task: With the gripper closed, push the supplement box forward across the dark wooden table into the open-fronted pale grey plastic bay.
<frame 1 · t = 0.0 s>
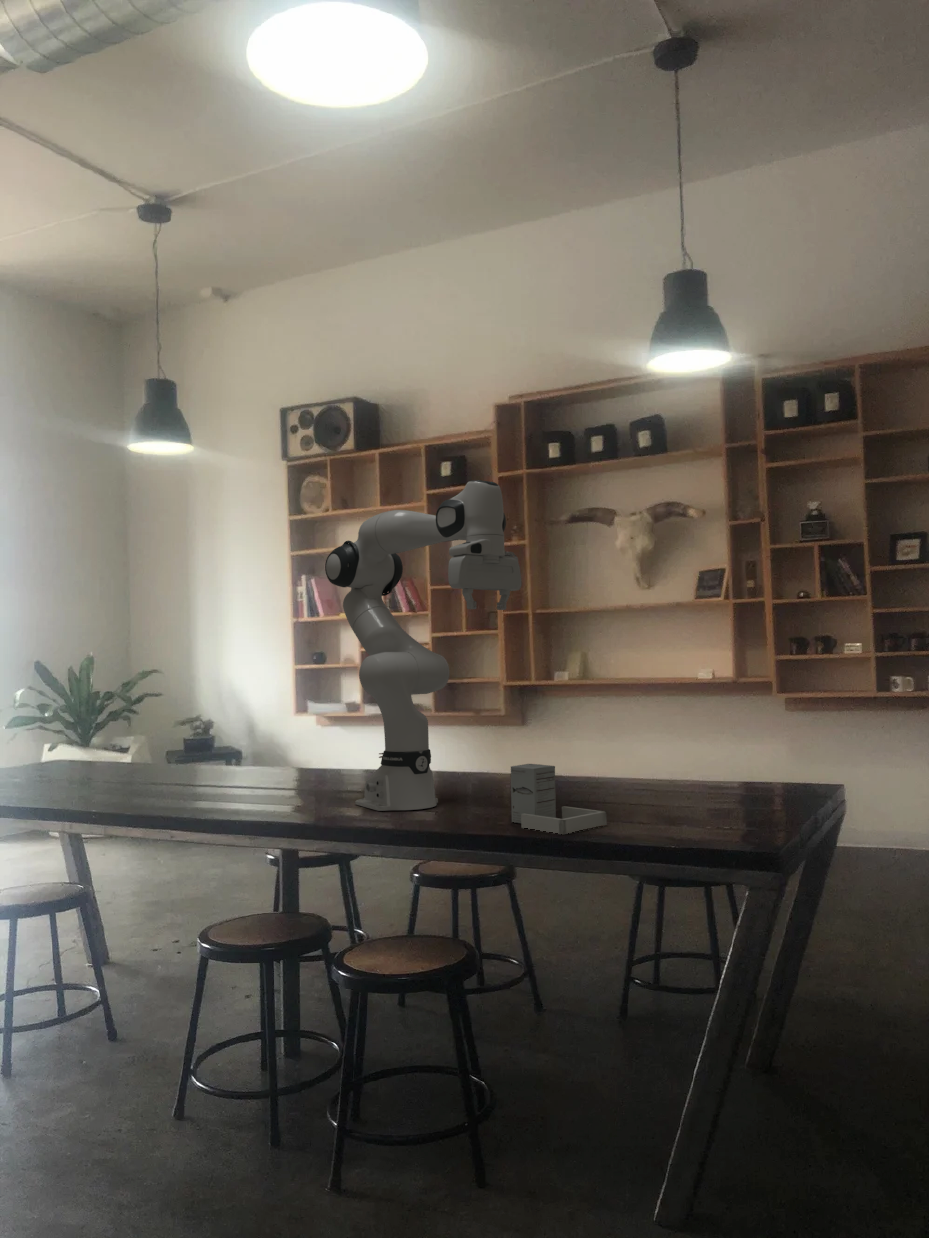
hand: (486, 609, 217), 48 cm above the table, tool pointing down, fingers open, 8 cm apart
bay: (564, 826, 204), on the table
supplement box: (534, 823, 211), on the table
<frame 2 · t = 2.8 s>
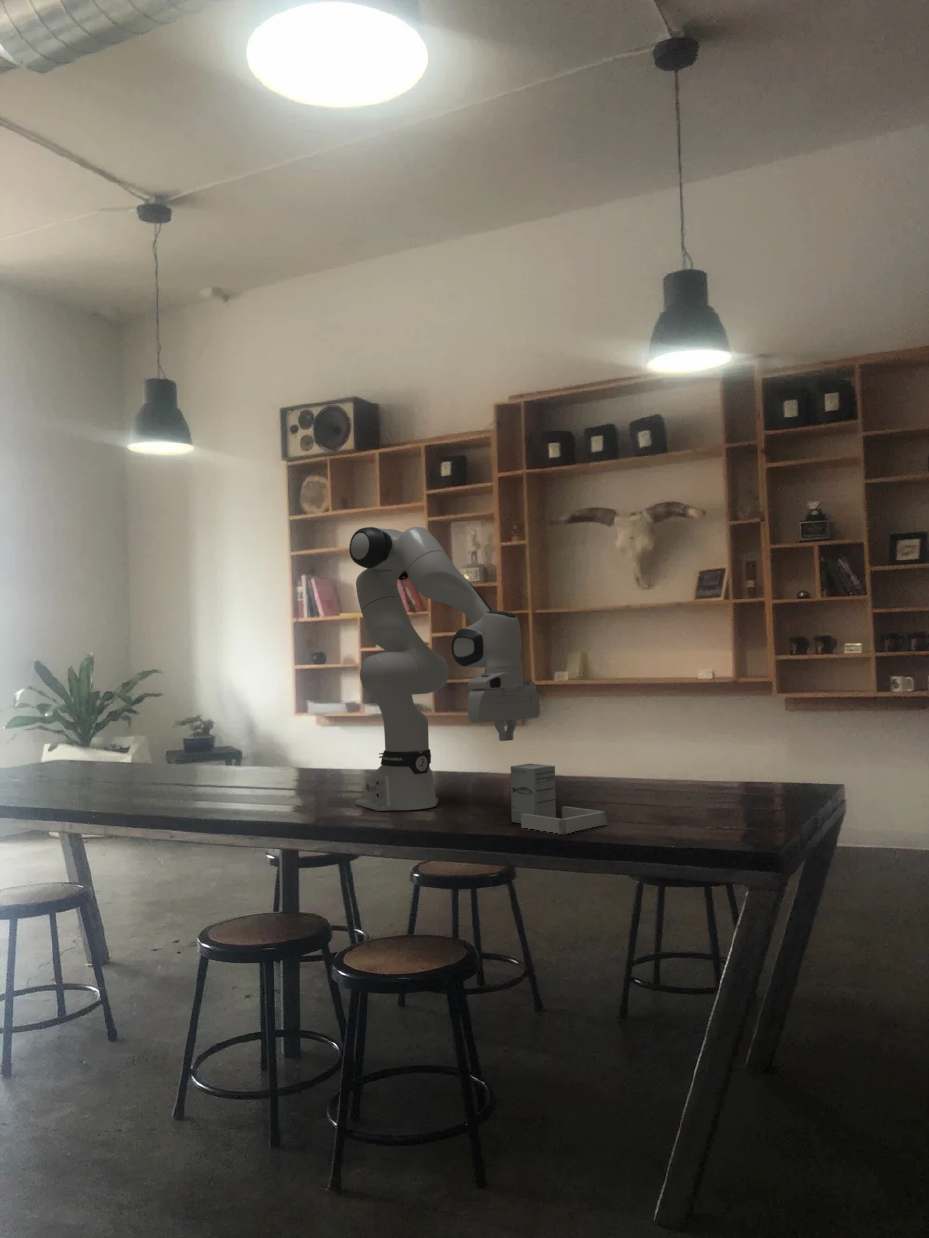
hand: (506, 740, 217), 18 cm above the table, tool pointing down, fingers closed
nothing on the table moved.
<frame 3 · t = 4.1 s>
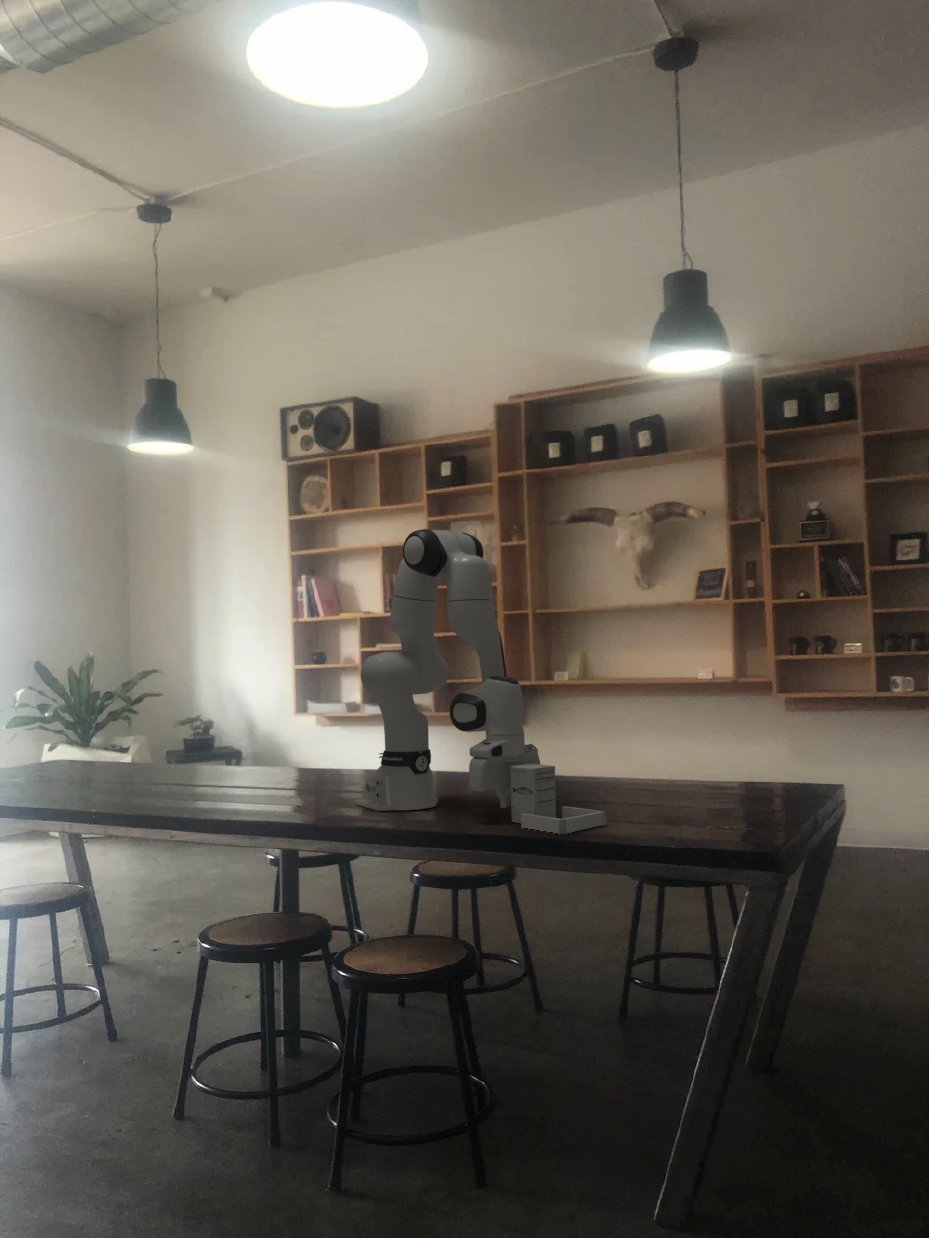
hand: (507, 807, 217), 3 cm above the table, tool pointing down, fingers closed
nothing on the table moved.
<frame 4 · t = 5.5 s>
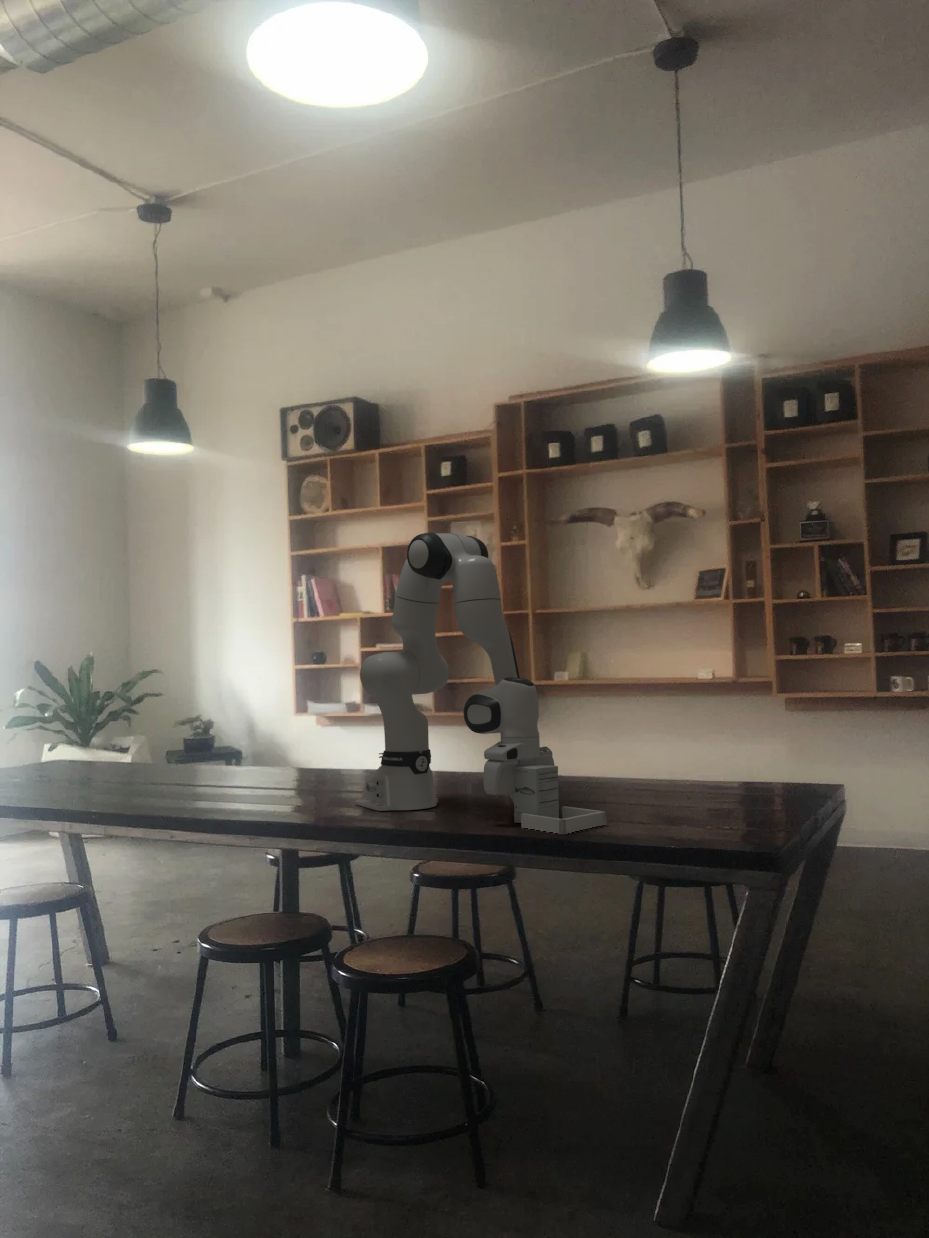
hand: (521, 810, 214), 2 cm above the table, tool pointing down, fingers closed, pressing on supplement box
supplement box: (536, 823, 210), on the table, touching gripper
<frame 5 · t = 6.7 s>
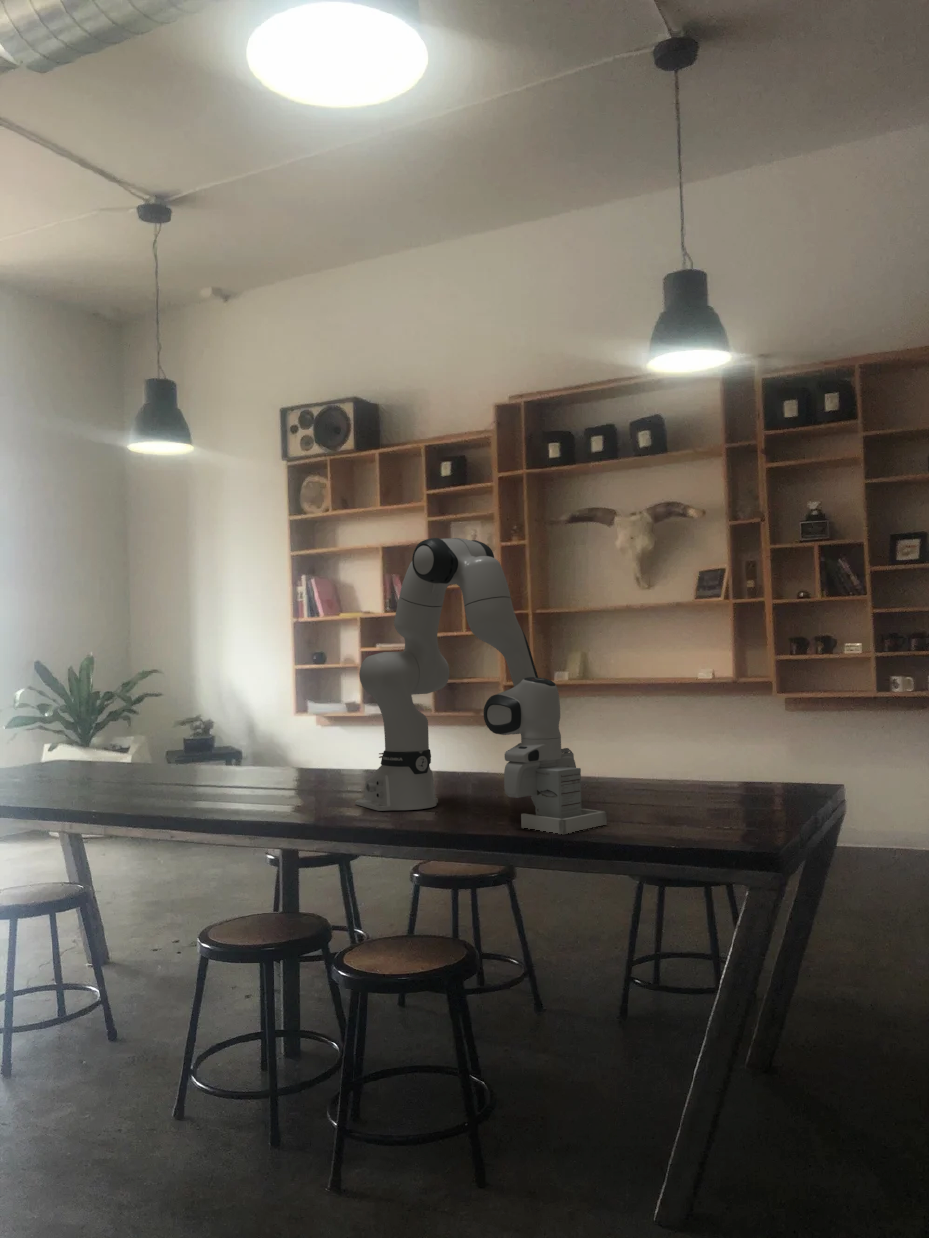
hand: (543, 813, 209), 2 cm above the table, tool pointing down, fingers closed, pressing on supplement box
supplement box: (559, 826, 205), on the table, touching gripper
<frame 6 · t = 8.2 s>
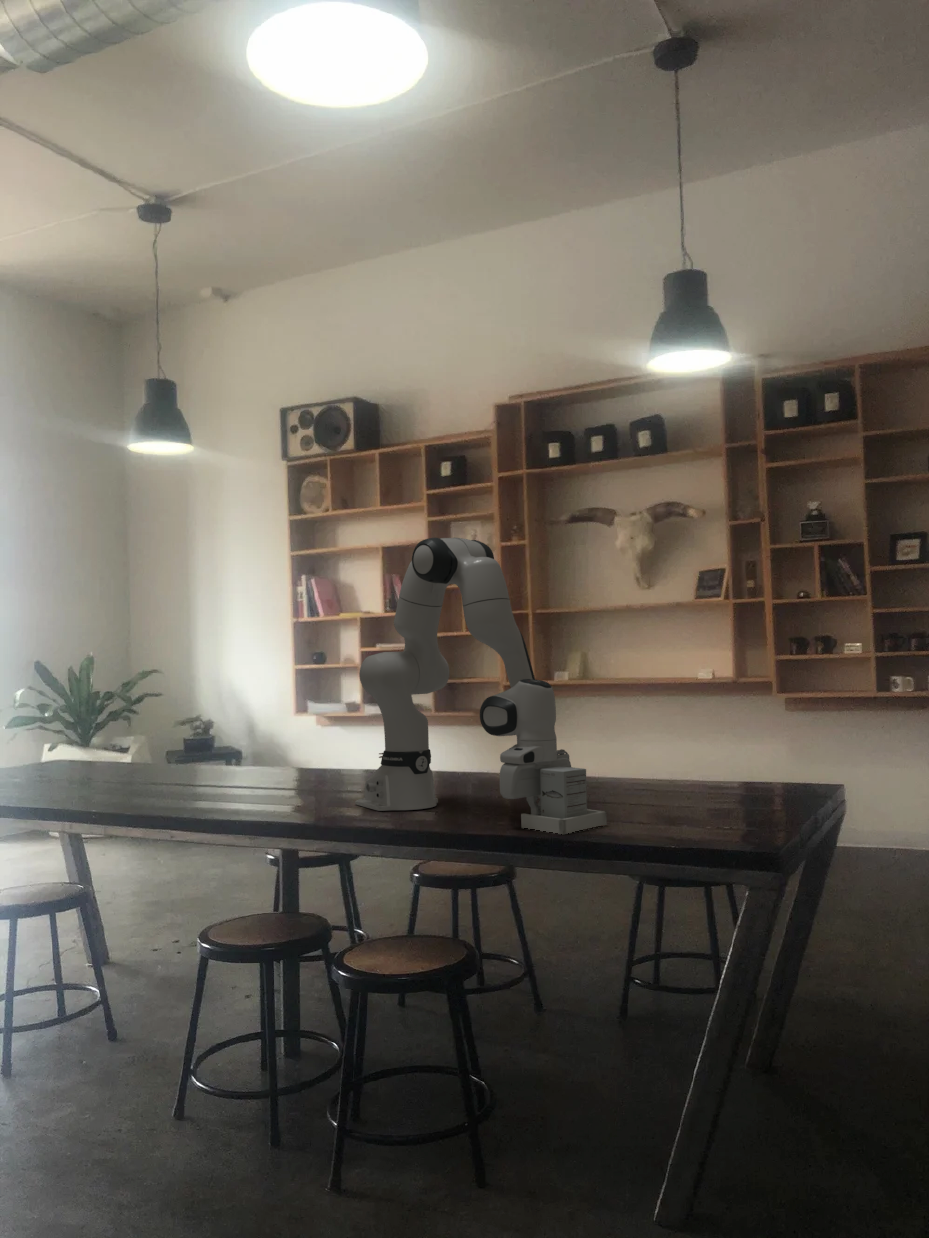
hand: (538, 814, 210), 2 cm above the table, tool pointing down, fingers closed
supplement box: (564, 828, 204), on the table
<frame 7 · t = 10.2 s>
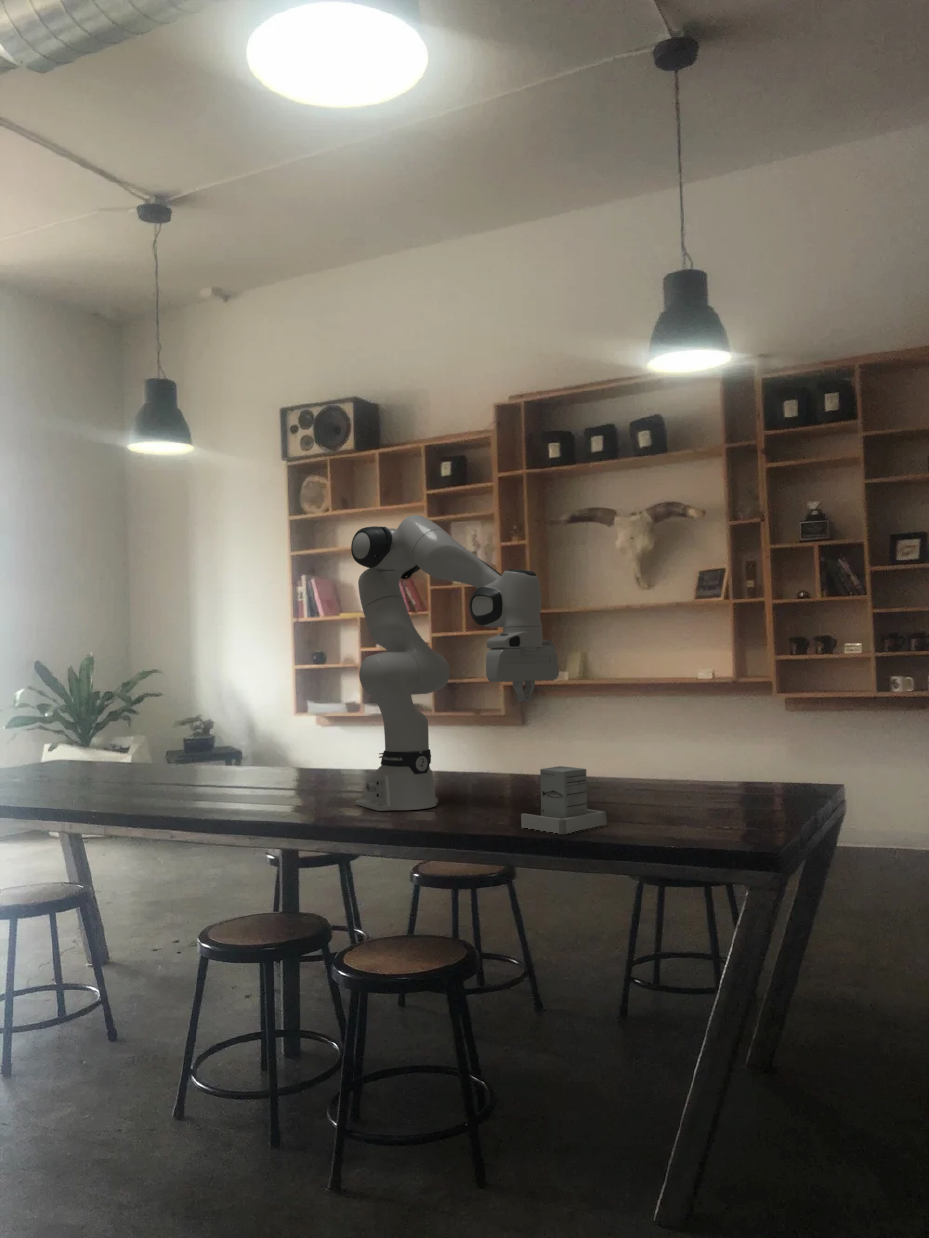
hand: (524, 701, 213), 27 cm above the table, tool pointing down, fingers closed
nothing on the table moved.
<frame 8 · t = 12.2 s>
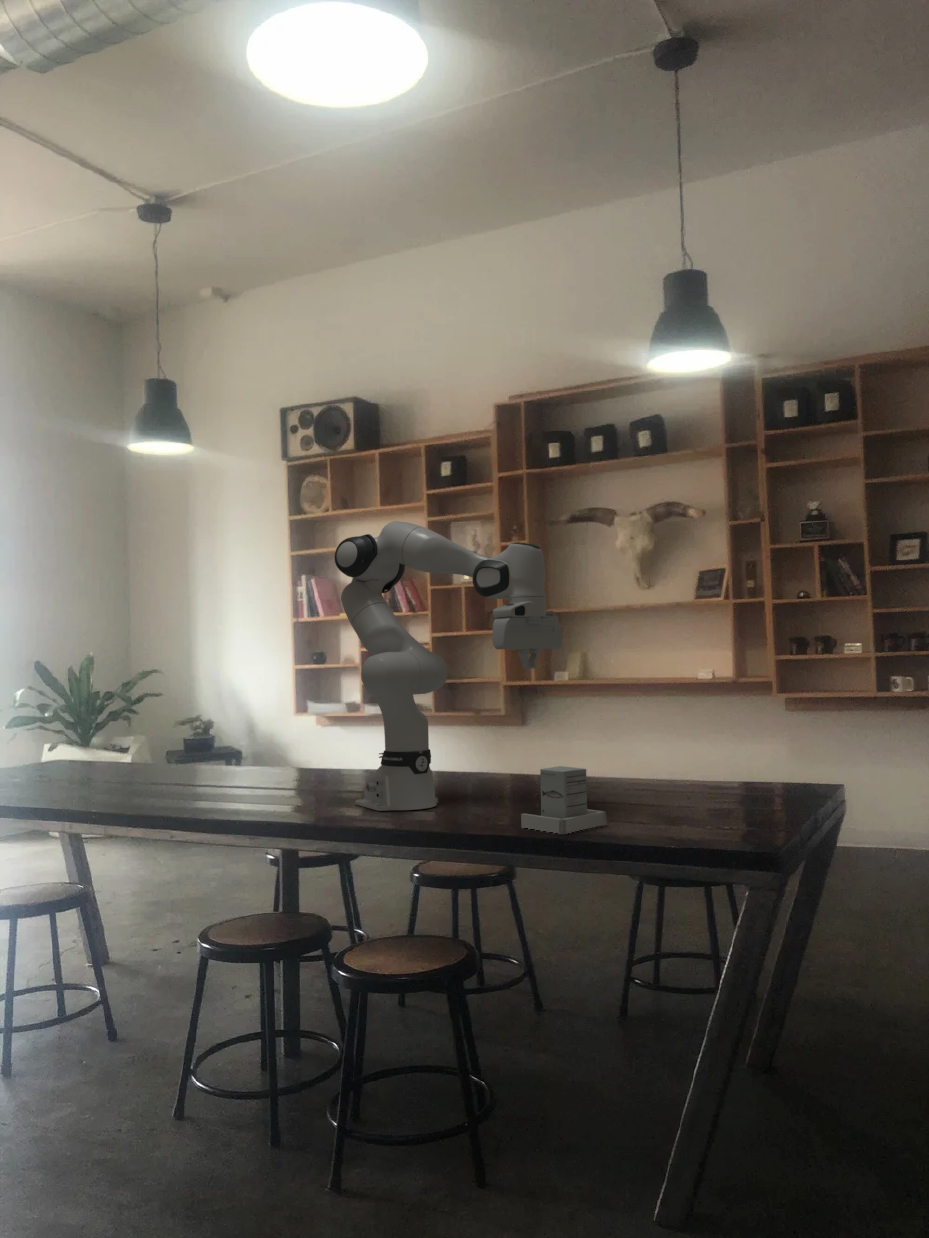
hand: (529, 668, 223), 34 cm above the table, tool pointing down, fingers closed
nothing on the table moved.
at the end: supplement box 0.6 cm off-centre on the bay, point 0.0 cm above the bay's base; supplement box tilted 0°; supplement box moved 9.1 cm from its start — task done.
